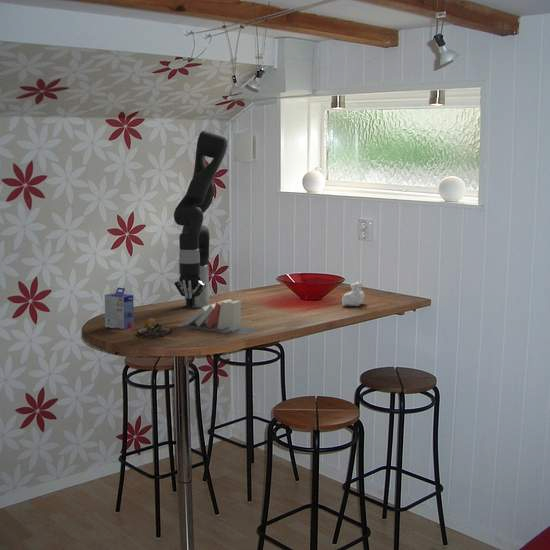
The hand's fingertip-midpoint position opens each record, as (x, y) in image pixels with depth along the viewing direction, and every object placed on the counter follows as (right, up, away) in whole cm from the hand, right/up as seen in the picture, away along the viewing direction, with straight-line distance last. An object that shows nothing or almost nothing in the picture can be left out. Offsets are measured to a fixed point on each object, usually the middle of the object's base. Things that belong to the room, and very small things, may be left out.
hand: (190, 308), depth 279 cm
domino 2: (+4, -6, -1) cm, 7 cm away
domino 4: (+17, -7, -8) cm, 20 cm away
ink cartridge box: (-25, -7, -2) cm, 27 cm away
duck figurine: (+64, -1, +37) cm, 74 cm away
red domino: (+8, -6, -3) cm, 11 cm away
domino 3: (+12, -7, -6) cm, 15 cm away
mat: (+10, -7, -4) cm, 13 cm away
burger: (-11, -9, -12) cm, 19 cm away
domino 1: (0, -5, +1) cm, 5 cm away
